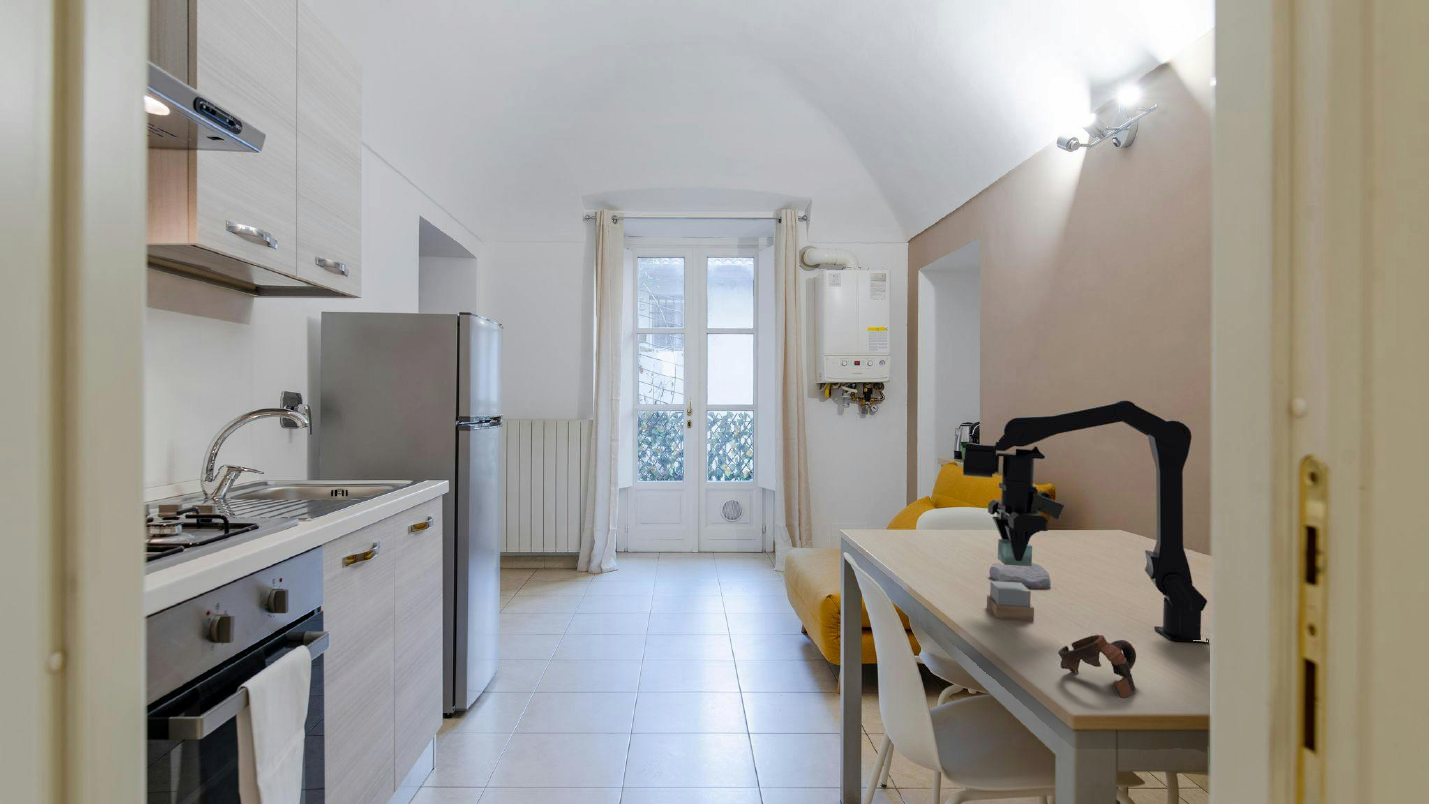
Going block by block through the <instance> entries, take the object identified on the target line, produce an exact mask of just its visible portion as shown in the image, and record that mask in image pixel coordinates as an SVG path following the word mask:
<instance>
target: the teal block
mask: <svg viewBox="0 0 1429 804" xmlns="http://www.w3.org/2000/svg"><path fill="white" fill-rule="evenodd" d="M997 542H998V543H997V544H998V545H997V560H999V562H1001V564H1002V565H1016V566H1032V563H1033V562H1032V559H1033V545H1032V544H1030V543H1028V545H1027V548H1026V550H1025V553H1024V556H1023V559H1022V561H1016V560H1015V557H1014V554H1013V551H1012V547H1011V544H1010V541H1009V540H1005V539H1001V538H998V540H997Z"/></svg>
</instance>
